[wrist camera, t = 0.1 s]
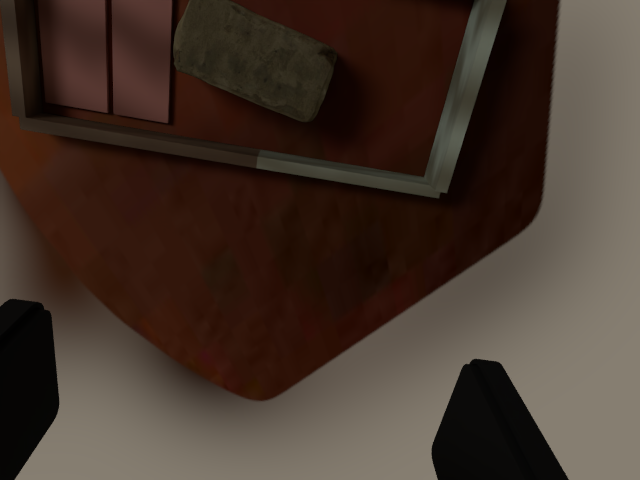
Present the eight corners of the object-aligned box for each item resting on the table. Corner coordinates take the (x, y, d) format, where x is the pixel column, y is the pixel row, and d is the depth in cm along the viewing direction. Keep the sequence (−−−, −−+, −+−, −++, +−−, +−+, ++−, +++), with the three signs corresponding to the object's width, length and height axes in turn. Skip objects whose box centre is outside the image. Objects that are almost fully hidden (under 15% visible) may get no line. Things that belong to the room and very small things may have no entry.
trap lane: (9, -123, 31) (-32, -144, 27) (492, -19, 34) (514, -26, 30) (31, 122, 38) (2, 131, 34) (431, 189, 41) (443, 204, 37)
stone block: (314, 118, 38) (314, 129, 34) (179, 64, 36) (160, 68, 32) (340, 48, 36) (344, 49, 31) (198, -13, 34) (180, -21, 29)
